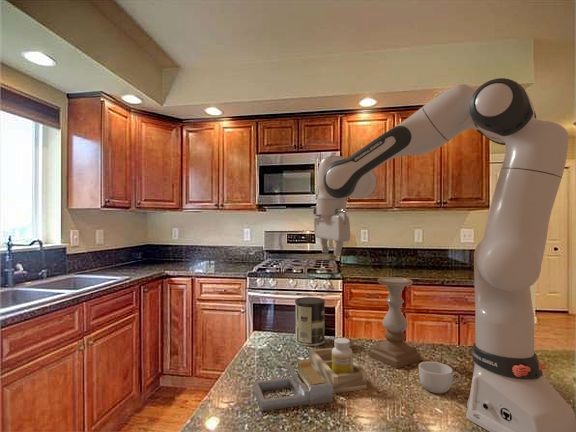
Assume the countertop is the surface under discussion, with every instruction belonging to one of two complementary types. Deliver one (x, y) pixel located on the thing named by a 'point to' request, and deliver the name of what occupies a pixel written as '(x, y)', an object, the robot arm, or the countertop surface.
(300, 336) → the coffee can
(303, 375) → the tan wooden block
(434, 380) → the teacup
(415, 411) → the countertop surface
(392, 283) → the candle holder
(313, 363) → the box
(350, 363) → the supplement bottle
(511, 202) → the robot arm
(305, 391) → the socket block
